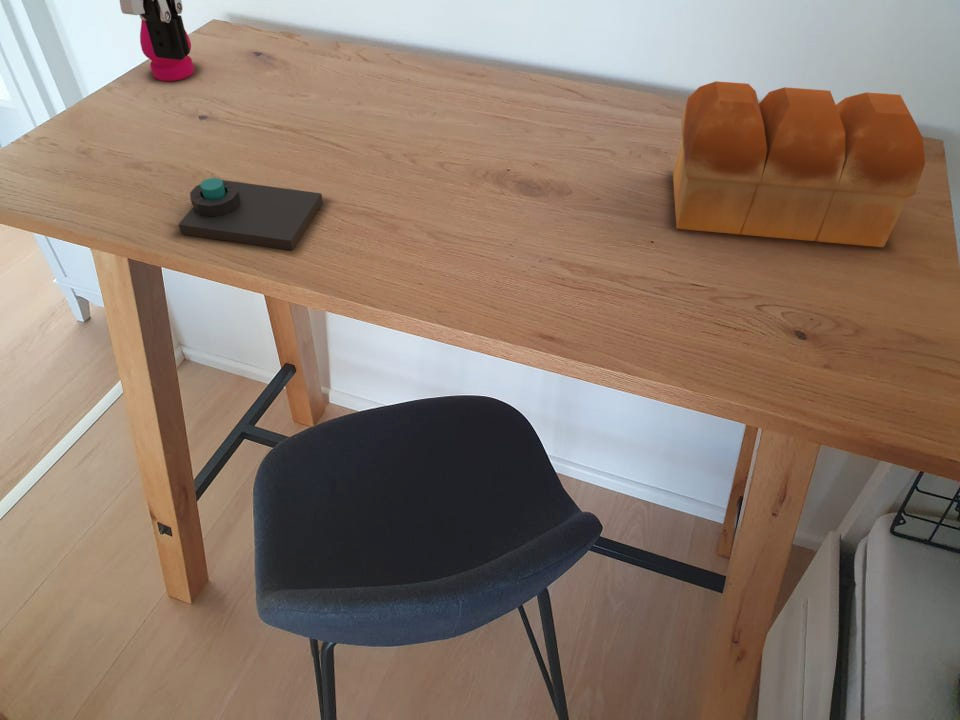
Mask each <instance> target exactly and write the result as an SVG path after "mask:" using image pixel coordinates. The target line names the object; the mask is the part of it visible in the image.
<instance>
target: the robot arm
mask: <svg viewBox="0 0 960 720" xmlns="http://www.w3.org/2000/svg"><path fill="white" fill-rule="evenodd" d="M119 6H120V10H121V13H122V14H123V15H130V16H131V15H133V16H138V15H139V17H140V20H141V21H142V20H145V22H146V26H147V29H148V33H149V36H150V40H151V43H152V47H153V50H154V54H155V55H156V56H157V57H159V58H167V59H175V60H182V59H183V58H184V57H185V56H187V55H188V56H189V54H190V53H191V50H190V49H189V45H188V41H187V37H186V33H185V31H186V29H185V26H184V21H183V17H182V15H181V14H183V13H182V12H183V2H182V0H119Z"/></svg>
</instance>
